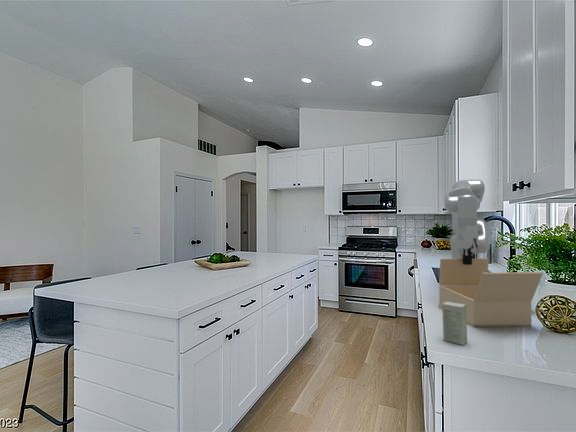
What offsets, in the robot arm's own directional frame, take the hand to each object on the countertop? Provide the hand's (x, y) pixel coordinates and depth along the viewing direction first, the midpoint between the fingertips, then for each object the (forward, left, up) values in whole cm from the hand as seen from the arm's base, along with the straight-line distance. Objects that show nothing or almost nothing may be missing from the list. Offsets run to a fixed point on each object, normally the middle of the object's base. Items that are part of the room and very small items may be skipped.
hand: (467, 264), depth 133 cm
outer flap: (+23, 0, -4) cm, 24 cm away
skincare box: (+33, -25, -20) cm, 46 cm away
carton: (+9, 0, -20) cm, 22 cm away
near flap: (-3, 0, -4) cm, 5 cm away
